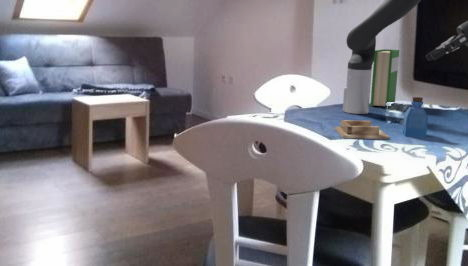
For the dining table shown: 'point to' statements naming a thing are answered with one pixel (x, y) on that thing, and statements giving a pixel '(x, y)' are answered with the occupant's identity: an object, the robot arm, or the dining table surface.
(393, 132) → the dining table surface
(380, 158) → the dining table surface
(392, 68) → the hardback book
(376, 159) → the dining table surface
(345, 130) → the u cradle
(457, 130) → the dining table surface
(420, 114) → the perfume bottle
